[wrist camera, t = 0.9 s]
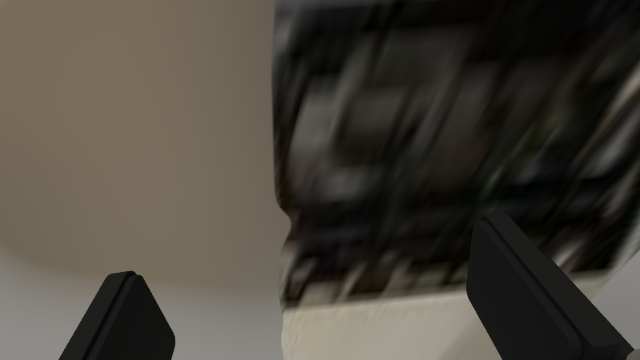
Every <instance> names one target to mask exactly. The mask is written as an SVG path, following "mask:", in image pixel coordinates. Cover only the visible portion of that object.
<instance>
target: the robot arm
mask: <svg viewBox="0 0 640 360" xmlns="http://www.w3.org/2000/svg"><path fill="white" fill-rule="evenodd" d="M466 291H467V295H468V298H469V300H470V302H471V304H472V306H473V308H474V309H475V311H476V313H477V315H478V317H479V318H480V320H481V322H482V324H483V326H484V327H485V329H486V331H487V333H488V334H489V336H490V338H491V340H492V342H493V343H494V345H495V347H496V349H497V351H498V352H499V354H500V356H501V358H502V360H640V349H637V350H634V349H633V347H632V346H631V345H630V344H629V343H628V342H627V341H626V340H625V339H624V338H623V337H622V336H621V334H620V333H619V332H618V331H617V330H616V329H615V328H614V327H613V326H612V325H611V323H609V321H608V320H607V319H606V318H605V317H604V316H603V315H602V314H601V313H600V312H599V311H598V310H597V308H596V307H595V306H594V305H593V304H592V303H591V302H590V301H589V300H588V298H587V297H586V296H585V295H584V294H583V293H582V292H581V291H580V290H579V289H578V288H577V286H576V285H575V284H574V283H573V282H572V281H571V280H570V279H569V278H568V277H567V276H566V275H565V273H564V272H563V271H562V270H561V269H560V268H559V267H558V266H557V265H556V264H555V263H554V261H552V260H551V259H550V258H549V257H547V256H545V255H543V254H542V253H541V252H540V251H539V249H538V248H537V247H536V246H535V245H534V244H533V243H532V242H531V241H530V239H529V238H528V237H527V236H526V235H525V234H524V233H523V232H522V231H521V230H520V228H519V227H518V226H517V225H516V224H515V223H514V222H513V221H512V220H511V218H510V217H509V216H508V215H507V214H506V213H504V212H498V213H491V214H485V215H481V216H480V218H479V221H476V222H475V223H474V226H473V235H472V243H471V251H470V260H469V268H468V277H467V285H466ZM174 348H175V336H174V333H173V331H172V329H171V328H170V326H169V324H168V322H167V321H166V318H165V317H164V315H163V313H162V311H161V309H160V308H159V306H158V304H157V302H156V300H155V299H154V297H153V295H152V293H151V291H150V289H149V288H148V286H147V284H146V282H145V280H144V279H143V277H142V276H141V275H137V274H136V273H135V272H134V271H126V272H120V273H114V274H110V275H108V276H107V277H106V279H105V280H104V282H103V284H102V286H101V287H100V289H99V291H98V293H97V294H96V296H95V298H94V299H93V301H92V303H91V304H90V306H89V308H88V310H87V312H86V313H85V315H84V317H83V318H82V320H81V322H80V324H79V325H78V327H77V329H76V330H75V332H74V334H73V336H72V337H71V339H70V341H69V343H68V344H67V346H66V348H65V349H64V351H63V353H62V355H61V356H60V358H59V360H171V358H172V355H173V352H174Z"/></svg>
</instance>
